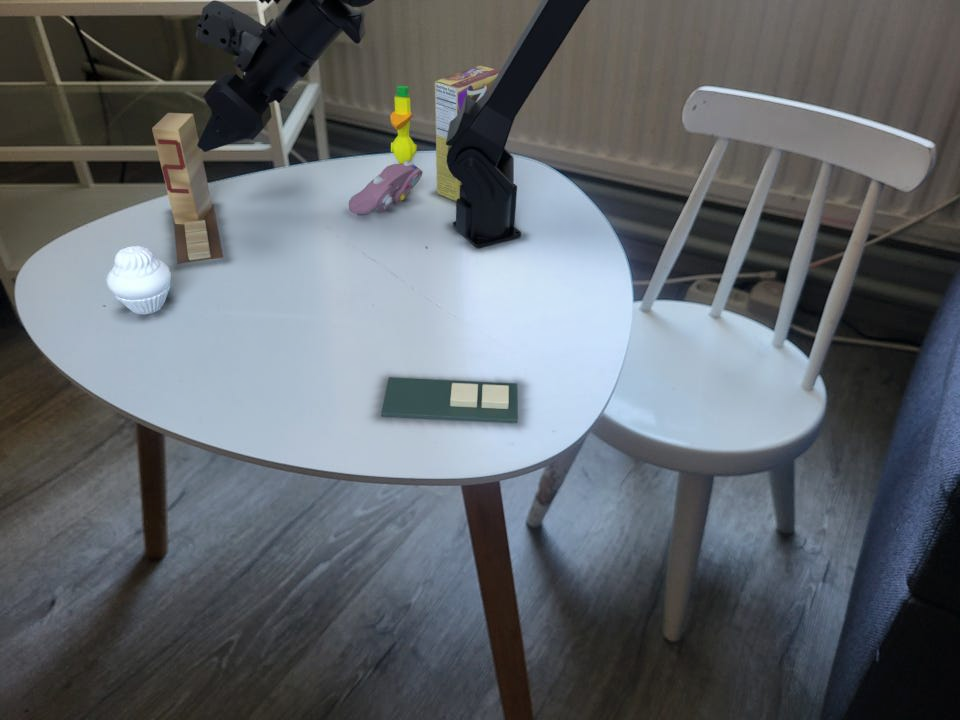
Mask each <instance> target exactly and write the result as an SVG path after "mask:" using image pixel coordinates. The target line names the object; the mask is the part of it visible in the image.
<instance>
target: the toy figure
mask: <svg viewBox="0 0 960 720" xmlns="http://www.w3.org/2000/svg"><path fill="white" fill-rule="evenodd" d="M410 97H411V94H410V93H409V86H407V85H396V93H394V98H393V100H394V110H393V111H392V113H391V114H390V117H389V119H390V125H391V126H392V128H393V129H394V130H396V131H397V136H396V137H395V139H394V140H393V142H390V153H393V156H394V157H395V159H396V161H397V162H398V164H402V163H404V162H405V161H406V160H408V162H409V163H411V162H412V160H413V158H414V157H415V156H416V154H417V150H418V145H417V144H416V143H415V142H414V141H413V139H412V138H411V136H410V127H411V119H412V116H413V112H411V111H412V110H411V109H412V108H411V98H410Z"/></svg>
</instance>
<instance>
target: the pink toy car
mask: <svg viewBox="0 0 960 720" xmlns="http://www.w3.org/2000/svg"><path fill="white" fill-rule="evenodd" d="M422 176H423V170H422V169H420V168H419V167H418V166H417V165H416V164H414V163H411V162H408V160H406V161H405V162H404V163H402V164H399V163H393V164H390V165H387V166H386V167H385V168H384V169H383V170H382V171H381V172H380V173H379V174H378V175H377V176H375V177H374V178H373V179H372V180H370V182H368V184H367V185H366V186H365V187H364V188H363V189H362V190H360V191H359V192H357V193H356V194H354V195H353V196H351V198H350V199H349V200H348V208H349V211H350V212H351V213H354V214H356V215H366V214H368V213H370V212H372V211H374V210H375V209H377V211H379V212H380V213H385V211H387V210H388V209H389V208H390V206H391V205H392V203H393V202H394V203H395V204H399V203H401V202H402V201H405V199H406V196H407V195H408V193H409V192H410V191H411V190H413V188H414V187H415V186H416V185H417V184H418V183H419V181H420V180H421V179H422Z"/></svg>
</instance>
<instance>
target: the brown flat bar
mask: <svg viewBox="0 0 960 720" xmlns="http://www.w3.org/2000/svg"><path fill="white" fill-rule="evenodd" d="M172 221H173V222H172V223H173V232H174V242H175V253H176V255H175V256H176V264H177V265H181V264H188V263H195V262H196V263H197V262H203V261H209V260H217V259H223V258H224V254H223V248H222V244H221V237H220V231H219V227H218V220H217V216H216V210H215V205H214V203H212V208H211V209H210V211H209V212H208V214H207V215H206V216H205V218H204V219H203V220H202V221H194V222H186V223H184V224H175V221H174V217H173V216H172Z"/></svg>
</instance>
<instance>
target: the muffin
mask: <svg viewBox="0 0 960 720" xmlns="http://www.w3.org/2000/svg"><path fill="white" fill-rule="evenodd" d="M113 261H114V264H113V266H112V268H111V269H110V271H109V272H108V274H107V276H106V280H105V281H106V285H107V288H108V290H109V291H110V292H111V294H113V296H114V297H115V298H116V300H118V301H119V302H120V303H122V304H123V305H124V306H125V307H126V308H128V309H129V310H130V311H131V312H132V313H134V314H136V315H142V316H143V315H145V316H146V315H150V314H153V313H156V312H159V311H160V310H161V309H162V308H163V305H165V303H166V300H167V297H168V294H169V291H170V288H171V281H172V280H171V279H172V272H171V269H170V267H169V266H168V264H166V262H164V261H162V260H161V259H158V258H157V257H155V256H154V255H153V253H152V251H151V250H150V249H149V248H147V247H144V246H142V245H131V246H130V245H129V246H127V247H123V248H122V249H120V250H119V251H118V252H117V253H116V254H115V256H114V259H113Z"/></svg>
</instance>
